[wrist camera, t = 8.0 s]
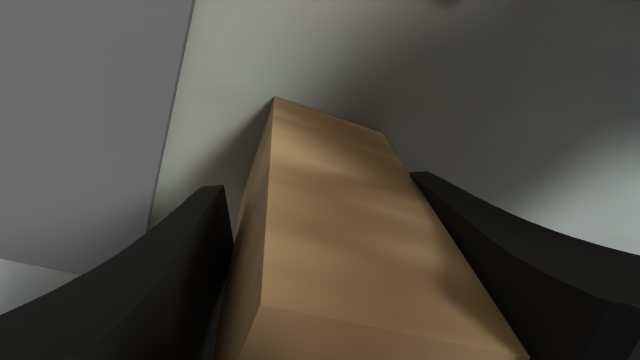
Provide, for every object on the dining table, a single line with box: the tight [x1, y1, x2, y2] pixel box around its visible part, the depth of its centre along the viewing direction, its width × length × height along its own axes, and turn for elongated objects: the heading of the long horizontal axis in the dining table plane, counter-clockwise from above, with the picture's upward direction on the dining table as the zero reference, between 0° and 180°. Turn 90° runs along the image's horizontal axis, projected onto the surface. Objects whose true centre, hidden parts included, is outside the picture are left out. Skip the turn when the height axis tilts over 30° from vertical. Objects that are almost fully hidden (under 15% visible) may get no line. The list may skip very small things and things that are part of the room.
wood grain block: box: [212, 96, 530, 360], centre depth 9 cm, size 4×4×10 cm
